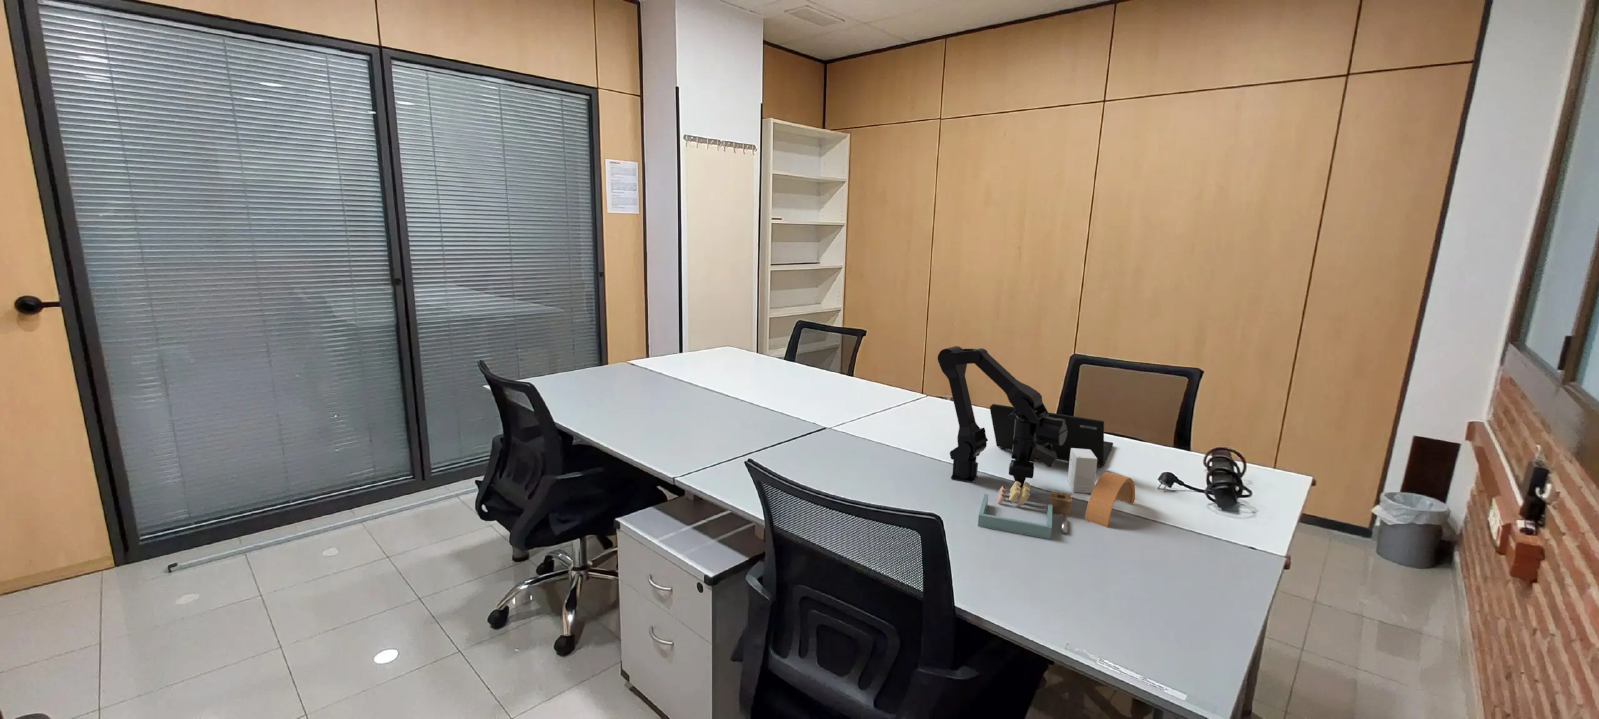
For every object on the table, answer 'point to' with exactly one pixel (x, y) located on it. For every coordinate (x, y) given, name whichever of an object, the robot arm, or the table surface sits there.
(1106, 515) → the arch
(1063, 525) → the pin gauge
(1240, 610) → the table surface
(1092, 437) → the laptop
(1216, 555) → the table surface
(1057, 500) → the bored block
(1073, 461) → the small box
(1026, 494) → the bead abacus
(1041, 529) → the tray
